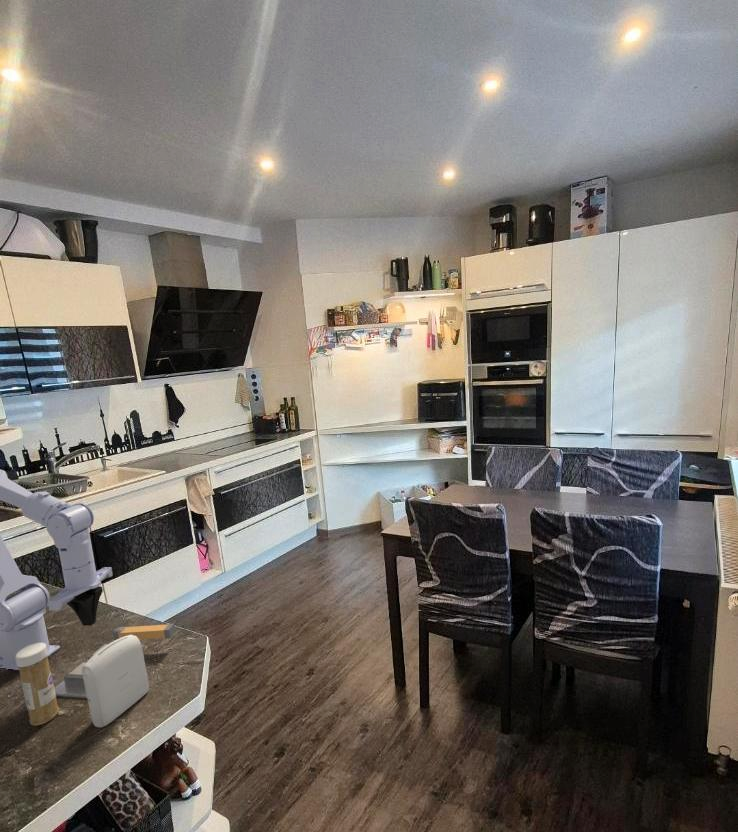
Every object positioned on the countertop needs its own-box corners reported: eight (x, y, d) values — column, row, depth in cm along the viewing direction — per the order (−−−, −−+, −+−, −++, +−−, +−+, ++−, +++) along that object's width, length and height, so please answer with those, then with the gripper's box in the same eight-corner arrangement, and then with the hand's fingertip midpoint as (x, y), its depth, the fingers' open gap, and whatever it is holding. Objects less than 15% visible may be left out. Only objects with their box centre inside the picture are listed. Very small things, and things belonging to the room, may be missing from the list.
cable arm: (111, 641, 100) (110, 633, 100) (118, 635, 103) (116, 627, 103) (170, 638, 100) (169, 629, 99) (175, 631, 102) (174, 623, 102)
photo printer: (103, 731, 79) (90, 665, 77) (87, 724, 81) (74, 660, 79) (153, 690, 88) (143, 630, 86) (139, 685, 90) (128, 626, 88)
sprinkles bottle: (59, 718, 83) (45, 649, 81) (28, 731, 80) (13, 661, 79) (59, 703, 87) (46, 638, 85) (30, 715, 84) (16, 648, 83)
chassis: (48, 695, 89) (45, 681, 89) (108, 645, 104) (106, 633, 104) (89, 698, 87) (86, 684, 87) (144, 647, 102) (142, 635, 102)
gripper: (64, 580, 88) (77, 646, 89) (119, 548, 102) (129, 605, 103) (34, 580, 89) (47, 644, 91) (93, 548, 103) (103, 605, 105)
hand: (89, 623), depth 97 cm, fingers closed
